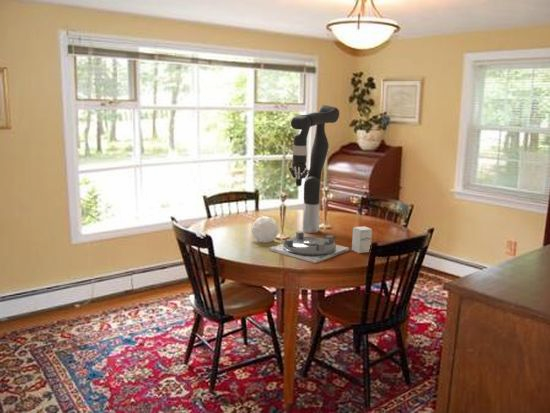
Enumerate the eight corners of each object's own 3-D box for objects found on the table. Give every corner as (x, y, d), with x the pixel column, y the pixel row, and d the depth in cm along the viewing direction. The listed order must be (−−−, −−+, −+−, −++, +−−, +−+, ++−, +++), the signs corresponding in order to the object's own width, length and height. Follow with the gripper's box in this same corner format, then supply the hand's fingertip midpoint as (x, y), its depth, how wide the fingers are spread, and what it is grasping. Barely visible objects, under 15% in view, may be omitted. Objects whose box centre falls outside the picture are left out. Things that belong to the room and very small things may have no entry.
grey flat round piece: (275, 242, 272) (275, 233, 271) (320, 238, 283) (320, 229, 282) (296, 257, 248) (297, 247, 246) (345, 252, 258) (346, 242, 257)
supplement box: (359, 253, 262) (360, 230, 260) (351, 249, 269) (352, 226, 266) (371, 252, 265) (372, 229, 263) (363, 248, 272) (364, 225, 269)
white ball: (267, 248, 285) (279, 225, 289) (272, 246, 271) (285, 222, 274) (245, 236, 284) (258, 213, 287) (249, 233, 269) (262, 209, 273)
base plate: (304, 239, 286) (304, 230, 285) (349, 250, 267) (349, 240, 266) (269, 250, 264) (269, 240, 263) (315, 263, 245) (315, 252, 244)
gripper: (285, 153, 271) (284, 185, 275) (305, 155, 263) (304, 188, 266) (294, 152, 277) (293, 183, 280) (313, 154, 268) (312, 186, 272)
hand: (298, 185), depth 273 cm, fingers closed
